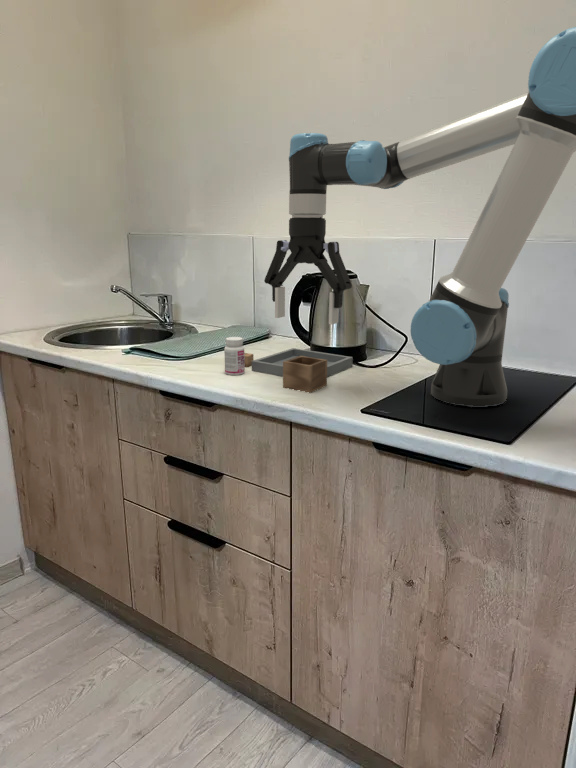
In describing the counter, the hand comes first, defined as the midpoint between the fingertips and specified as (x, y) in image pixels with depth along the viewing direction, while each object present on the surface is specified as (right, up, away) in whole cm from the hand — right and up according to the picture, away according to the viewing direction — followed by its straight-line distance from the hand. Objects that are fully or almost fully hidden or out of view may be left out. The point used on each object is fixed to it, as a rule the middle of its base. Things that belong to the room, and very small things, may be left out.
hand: (305, 320), depth 122 cm
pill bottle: (-17, -11, +15) cm, 25 cm away
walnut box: (0, -14, +4) cm, 15 cm away
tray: (0, -10, +19) cm, 22 cm away
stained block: (-16, -9, +23) cm, 29 cm away
